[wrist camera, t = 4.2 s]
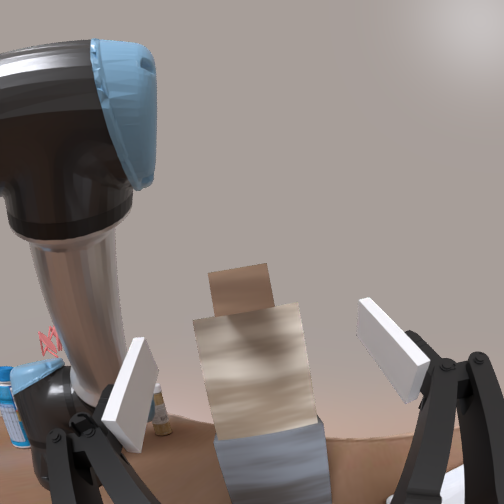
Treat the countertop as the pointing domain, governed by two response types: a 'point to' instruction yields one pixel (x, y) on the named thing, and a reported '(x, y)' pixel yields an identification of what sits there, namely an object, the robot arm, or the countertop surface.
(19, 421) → the beverage bottle
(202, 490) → the countertop surface
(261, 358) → the tower
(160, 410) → the sprinkles bottle
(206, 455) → the countertop surface
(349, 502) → the countertop surface
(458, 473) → the salad plate
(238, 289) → the walnut bar
